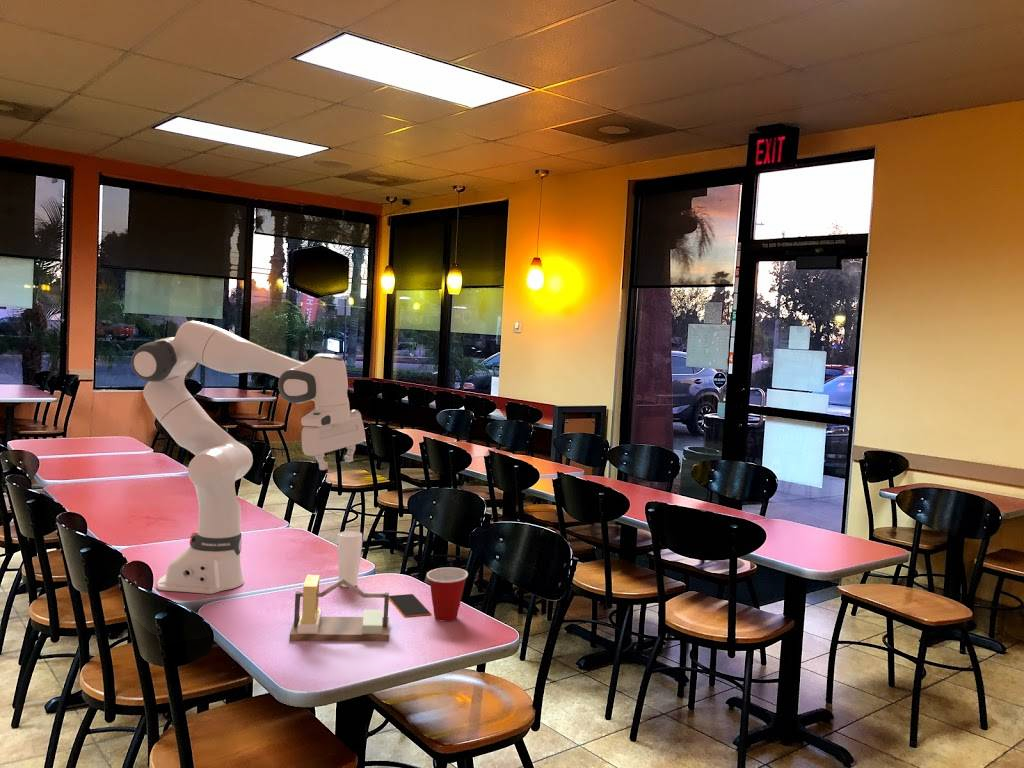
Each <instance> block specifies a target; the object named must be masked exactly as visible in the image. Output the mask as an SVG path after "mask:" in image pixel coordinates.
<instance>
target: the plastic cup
mask: <svg viewBox="0 0 1024 768" xmlns="http://www.w3.org/2000/svg"><path fill="white" fill-rule="evenodd" d="M468 576H469V572H468V571H467V570H466V569H462V568H459V567H448V566H447V567H439V568H435V569H431V570H429V571H428V572H427V573H426V578H427V579H428V582H429V587H430V593H431V603H432V608H433V617H434V619H435V620H437V621H441V622H453V621H455V620H457V617H458V613H459V609H460V607H461V600H462V595H463V592H464V588H465V583H466V581H467V578H468Z"/></svg>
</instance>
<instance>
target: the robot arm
mask: <svg viewBox="0 0 1024 768" xmlns="http://www.w3.org/2000/svg"><path fill="white" fill-rule="evenodd" d="M130 361H131V362H130V363H131V368H132V370H133V372H134V374H135V375H136V376H137V377H138V378H139V379H141V380H143V381H146V382H147V383H146V385H145V386H144V388H143V393H142V394H143V398H144V399H145V402H146V404H147V405H148V406H147V407H149V409H150V410H151V412H152V414H153V416H154V417H155V418H156V420H157V421H158V422H159V424H161V426H162V427H163V428H164V429H165V430H166V432H167V433H168V434H169V435H170V437H171V438H172V439H173V440H174V441H175V443H176V444H177V445H178V446H180V447H181V448H183V449H185V450H187V451H188V452H190V453H191V454H193V455H194V457H193V458H191V460H190V461H189V464H188V466H187V475H188V478H189V480H190V482H191V483H192V484H193V485H194V489H195V493H196V498H197V504H198V521H197V523H198V529H197V530H194V531H193V532H192V533H191V536H190V537H189V547H188V548H186V549H185V550H184V551H182V552H181V553H179V554H178V555H176V556H175V557H174V558H172V560H171V561H170V563H169V564H168V566H167V569H166V574H164V575H162V576H161V577H160V578H159V579H158V580H157V582H156V583H157V584H156V588H157V590H159V591H168V592H183V593H194V594H195V593H196V594H206V595H207V594H208V595H209V594H210V595H211V594H216V593H218V592H223V591H227V590H232V589H235V588H236V589H237V588H239V587H240V586H243V584H244V582H245V581H244V580H245V579H244V577H243V571H242V565H241V551H242V538H243V537H242V532H241V514H242V506H241V503H240V502H239V501H238V498H237V492H236V487H235V484H236V483H235V482H236V481H237V480H240V479H242V478H243V477H244V476H246V474H247V473H248V472H249V471H250V470H251V468H252V467H253V462H254V459H253V453H252V451H251V450H250V449H249V448H248V447H247V446H246V445H244V444H243V443H241V442H239V441H238V440H236V439H235V438H234V437H233V436H232V435H230V434H229V433H228V432H226V430H224V429H223V428H222V427H221V426H220V425H218V424H217V423H216V422H215V421H214V420H213V419H212V418H211V417H210V415H209V414H208V413H207V412H206V410H205V409H203V407H202V406H201V405H200V403H199V402H198V401H197V400H196V399H195V397H193V395H192V394H191V393H190V391H189V390H188V389H187V388H186V385H185V381H188V380H191V378H193V375H194V373H195V371H196V370H197V369H198V368H199V366H200V365H202V366H204V367H207V368H209V369H212V370H215V371H217V372H221V373H226V374H232V375H233V374H243V373H264V374H268V375H271V376H274V377H276V378H279V379H278V382H277V386H278V387H277V388H278V391H279V394H280V396H281V397H282V398H283V400H285V401H286V402H287V403H290V404H299V405H300V404H303V403H306V402H310V401H313V402H314V407H315V408H313V409H312V410H311V411H310V412H309V413H307V414H305V415H304V416H302V417H301V419H300V421H301V426H304V427H303V428H302V430H301V449H302V452H303V454H304V455H305V456H311V457H314V458H315V460H316V462H317V463H318V469H319V470H320V471H325V470H327V469H329V466H328V465H329V463H328V462H326V461H325V459H324V458H325V454H327V453H330V452H333V451H338V450H340V449H344V448H346V449H347V452H346V455H344V456H343V457H344V462H345V463H352V462H354V454H355V451H356V445H359V444H362V443H364V442H365V440H366V431H365V426H364V422H363V419H362V414H361V412H360V411H359V410H358V409H350V408H351V407H350V401H349V397H348V388H349V382H348V373H347V367H346V366H347V365H346V363H345V360H344V359H343V358H342V357H341V356H339V355H337V354H335V353H324V352H321V353H316V354H315V355H313V357H312V358H310V359H308V361H301V360H298V359H295V358H292V357H289V356H287V355H285V354H281V353H279V352H276V351H274V350H271V349H268V348H265V347H263V346H261V345H259V344H256V343H254V342H251V340H250V341H249V340H247V339H245V338H243V337H241V336H239V335H237V334H235V333H233V332H231V331H228V330H226V329H223V328H221V327H219V326H217V325H213V324H210V323H206V322H202V321H197V320H188V321H185V322H184V323H183V324H181V325H180V326H179V327H178V329H177V331H176V333H175V336H171V337H164V338H160V339H157V340H155V341H150V342H149V341H148V342H146V343H144V344H142V345H140V346H139V347H137V348H136V349H135V351H133V353H132V356H131V359H130Z"/></svg>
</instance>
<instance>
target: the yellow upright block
mask: <svg viewBox="0 0 1024 768" xmlns="http://www.w3.org/2000/svg"><path fill="white" fill-rule="evenodd" d="M320 576H321V575H320V574H307V575H306V577H305V581H304V583H303V589H302V591H303V592H302V593H303V597H302V610H301V613H302V617H301V624H316V621H317V617H318V613H319V609H320V606H319V598H320V597H316V593H320Z"/></svg>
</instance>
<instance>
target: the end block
mask: <svg viewBox="0 0 1024 768" xmlns="http://www.w3.org/2000/svg"><path fill="white" fill-rule="evenodd" d="M362 617H363V628H362V634H382V617H383V609H364V610H363V616H362Z"/></svg>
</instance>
